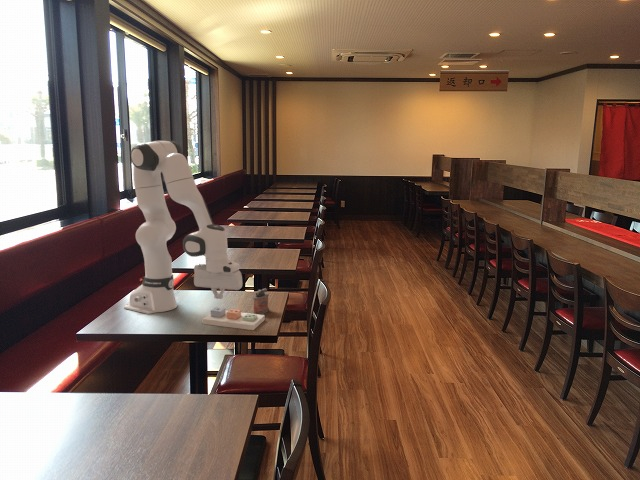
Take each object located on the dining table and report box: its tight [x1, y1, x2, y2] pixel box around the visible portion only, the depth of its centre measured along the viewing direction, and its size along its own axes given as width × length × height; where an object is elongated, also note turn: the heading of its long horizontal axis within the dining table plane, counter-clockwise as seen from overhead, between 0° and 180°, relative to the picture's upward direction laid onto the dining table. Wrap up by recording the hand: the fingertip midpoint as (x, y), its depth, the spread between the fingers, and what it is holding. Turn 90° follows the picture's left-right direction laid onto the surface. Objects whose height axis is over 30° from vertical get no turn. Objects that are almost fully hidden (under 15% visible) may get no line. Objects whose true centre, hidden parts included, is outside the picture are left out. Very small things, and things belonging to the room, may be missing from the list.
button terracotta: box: [226, 308, 242, 320], centre depth 206 cm, size 4×4×3 cm
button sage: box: [243, 313, 257, 322], centre depth 205 cm, size 4×4×3 cm
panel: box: [201, 310, 266, 331], centre depth 207 cm, size 22×12×2 cm, turn 74°
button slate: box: [210, 306, 227, 318], centre depth 208 cm, size 4×4×3 cm
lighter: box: [252, 287, 270, 315], centre depth 218 cm, size 8×3×10 cm, turn 143°
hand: (218, 298), depth 207 cm, fingers closed
